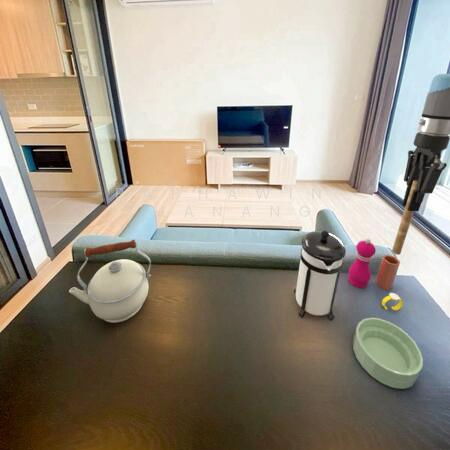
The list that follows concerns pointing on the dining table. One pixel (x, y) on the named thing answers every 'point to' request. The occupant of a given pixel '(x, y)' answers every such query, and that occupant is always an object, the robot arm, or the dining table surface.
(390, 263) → the utensil pot
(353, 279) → the pepper mill
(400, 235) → the stirring stick
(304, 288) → the coffee press
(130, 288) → the kettle
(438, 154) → the robot arm
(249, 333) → the dining table surface
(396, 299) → the watch
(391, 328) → the bowl
